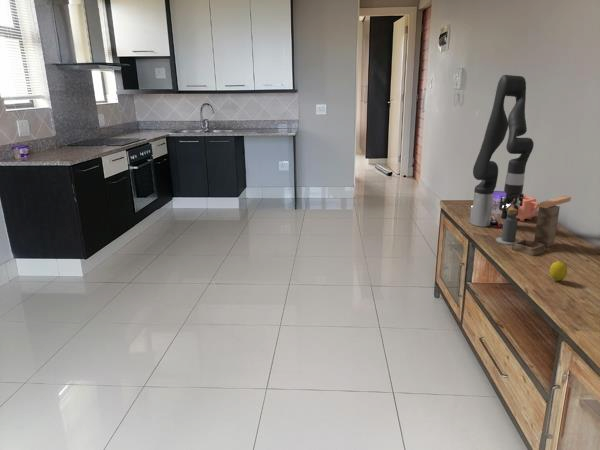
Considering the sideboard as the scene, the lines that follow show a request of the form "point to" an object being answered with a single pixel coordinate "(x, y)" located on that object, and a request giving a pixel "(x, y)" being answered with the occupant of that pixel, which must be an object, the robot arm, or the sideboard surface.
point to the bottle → (510, 226)
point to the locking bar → (555, 201)
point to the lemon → (558, 270)
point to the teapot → (527, 208)
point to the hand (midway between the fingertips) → (509, 217)
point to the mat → (505, 242)
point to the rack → (540, 232)
